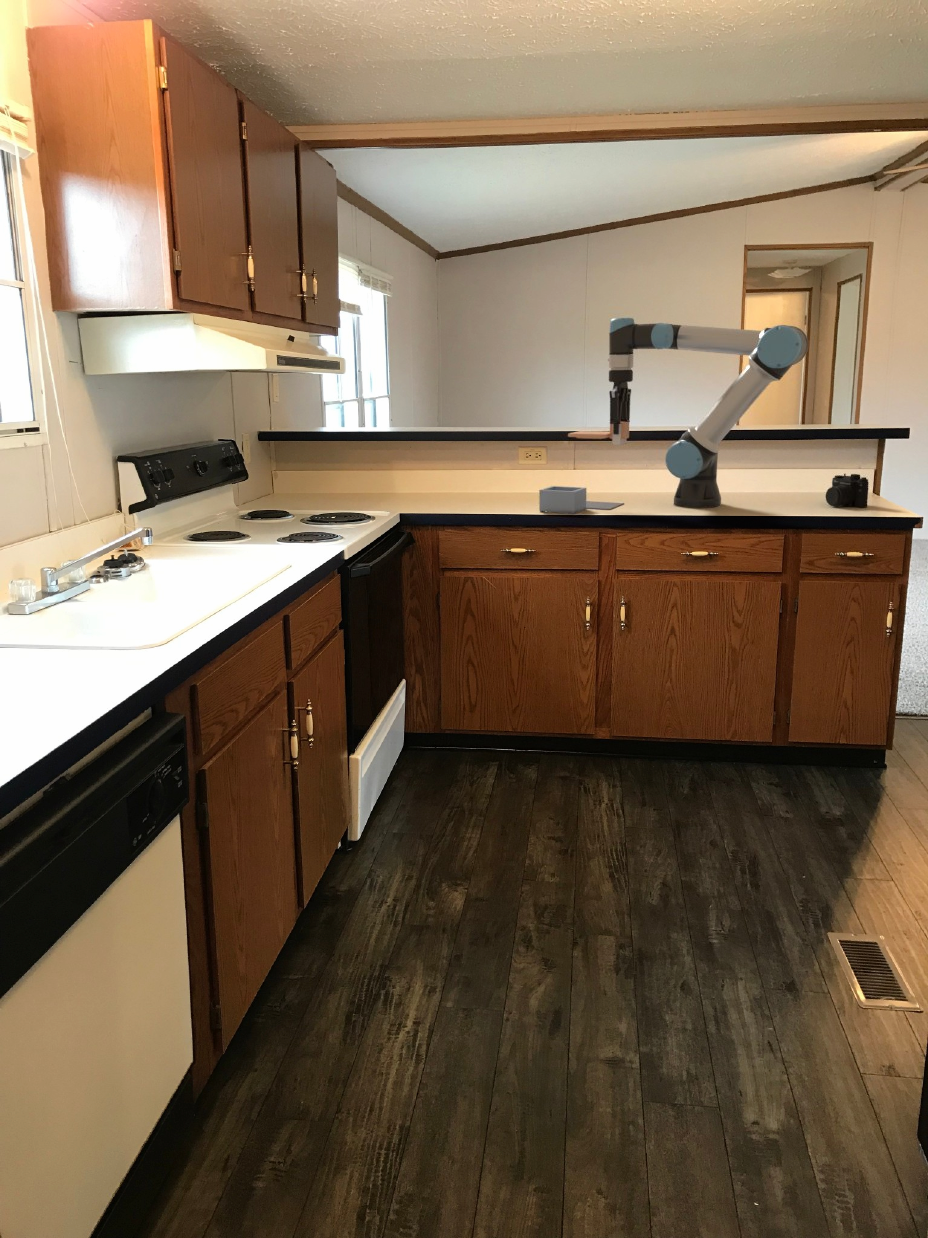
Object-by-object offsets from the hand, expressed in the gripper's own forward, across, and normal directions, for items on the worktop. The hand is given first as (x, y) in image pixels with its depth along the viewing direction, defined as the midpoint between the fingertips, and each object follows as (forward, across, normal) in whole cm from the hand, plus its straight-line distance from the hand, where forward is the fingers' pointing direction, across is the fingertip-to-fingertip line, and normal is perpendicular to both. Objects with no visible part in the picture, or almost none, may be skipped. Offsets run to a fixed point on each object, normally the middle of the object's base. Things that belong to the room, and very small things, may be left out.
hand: (619, 443), depth 318 cm
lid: (-2, 0, -7) cm, 7 cm away
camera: (+21, -28, +65) cm, 74 cm away
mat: (+20, 0, -9) cm, 22 cm away
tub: (+20, +13, -14) cm, 28 cm away
